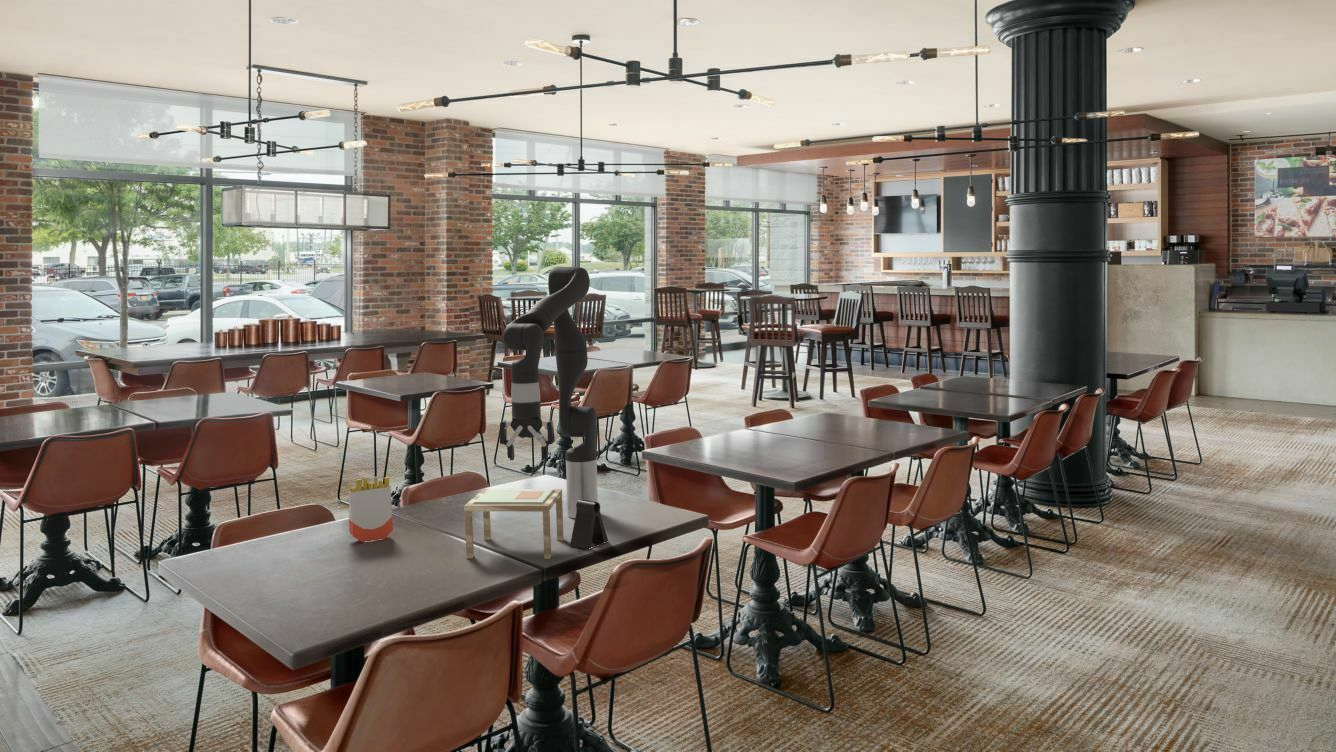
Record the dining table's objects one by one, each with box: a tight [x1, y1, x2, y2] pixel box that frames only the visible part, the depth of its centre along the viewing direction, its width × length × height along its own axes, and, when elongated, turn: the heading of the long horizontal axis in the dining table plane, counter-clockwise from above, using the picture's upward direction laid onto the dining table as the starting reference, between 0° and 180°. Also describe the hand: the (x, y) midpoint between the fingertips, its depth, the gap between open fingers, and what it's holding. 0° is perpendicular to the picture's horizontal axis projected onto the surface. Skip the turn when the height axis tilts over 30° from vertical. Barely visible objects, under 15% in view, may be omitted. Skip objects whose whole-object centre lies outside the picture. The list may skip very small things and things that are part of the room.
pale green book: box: [474, 488, 553, 504], centre depth 251 cm, size 14×18×2 cm
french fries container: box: [348, 476, 394, 543], centre depth 262 cm, size 5×11×18 cm, turn 121°
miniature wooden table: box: [463, 488, 564, 560], centre depth 252 cm, size 18×22×14 cm
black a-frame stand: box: [569, 500, 609, 550], centre depth 254 cm, size 9×6×12 cm, turn 144°
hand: (528, 459), depth 250 cm, fingers open, 8 cm apart
